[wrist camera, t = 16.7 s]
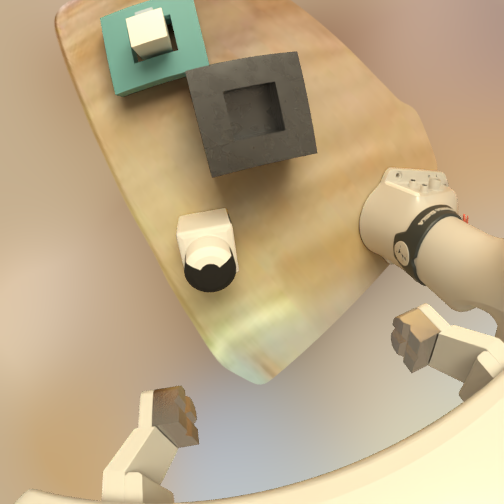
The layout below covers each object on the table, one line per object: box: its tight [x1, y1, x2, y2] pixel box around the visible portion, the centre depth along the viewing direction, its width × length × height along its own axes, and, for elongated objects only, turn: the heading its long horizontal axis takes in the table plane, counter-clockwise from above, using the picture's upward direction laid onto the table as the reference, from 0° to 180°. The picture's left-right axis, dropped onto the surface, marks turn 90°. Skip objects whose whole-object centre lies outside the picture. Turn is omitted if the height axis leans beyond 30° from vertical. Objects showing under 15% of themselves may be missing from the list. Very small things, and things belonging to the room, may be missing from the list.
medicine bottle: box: [176, 208, 239, 292], centre depth 38 cm, size 7×7×12 cm
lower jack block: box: [100, 0, 209, 97], centre depth 28 cm, size 12×12×4 cm
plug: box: [126, 7, 173, 60], centre depth 26 cm, size 4×5×9 cm
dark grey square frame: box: [185, 52, 317, 178], centre depth 32 cm, size 12×12×10 cm
